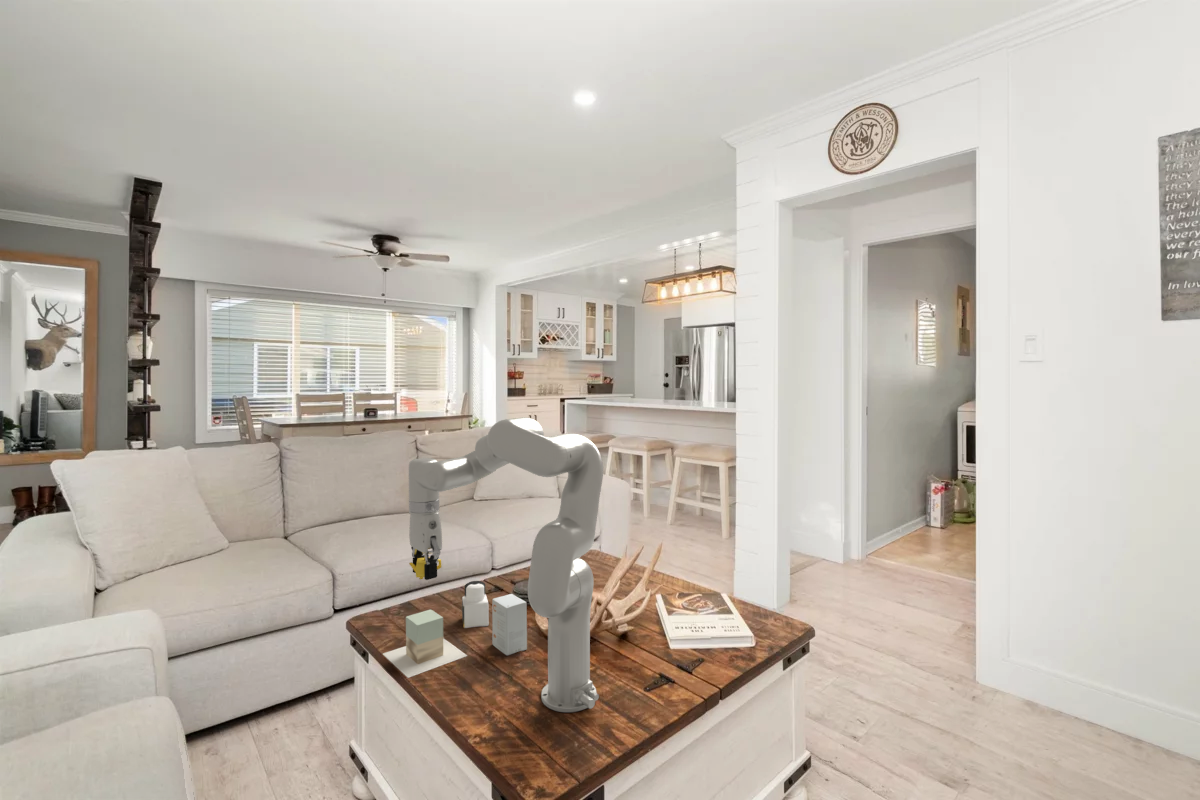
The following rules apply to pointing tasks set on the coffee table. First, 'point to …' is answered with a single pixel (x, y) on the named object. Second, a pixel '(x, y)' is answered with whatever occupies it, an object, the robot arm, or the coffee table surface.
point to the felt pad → (413, 668)
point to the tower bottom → (424, 650)
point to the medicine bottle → (475, 605)
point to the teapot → (422, 567)
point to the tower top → (424, 626)
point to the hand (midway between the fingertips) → (424, 574)
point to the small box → (509, 624)
